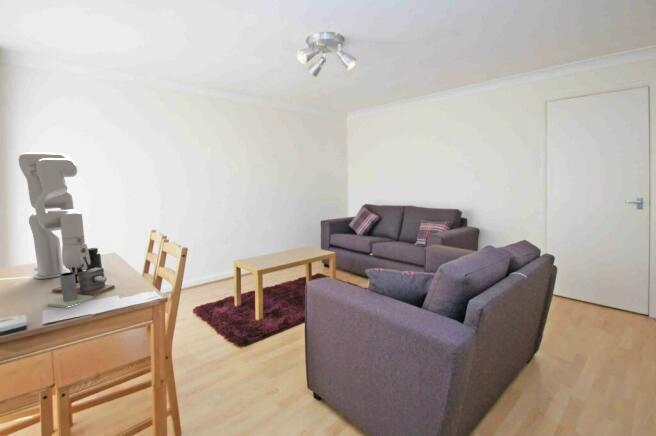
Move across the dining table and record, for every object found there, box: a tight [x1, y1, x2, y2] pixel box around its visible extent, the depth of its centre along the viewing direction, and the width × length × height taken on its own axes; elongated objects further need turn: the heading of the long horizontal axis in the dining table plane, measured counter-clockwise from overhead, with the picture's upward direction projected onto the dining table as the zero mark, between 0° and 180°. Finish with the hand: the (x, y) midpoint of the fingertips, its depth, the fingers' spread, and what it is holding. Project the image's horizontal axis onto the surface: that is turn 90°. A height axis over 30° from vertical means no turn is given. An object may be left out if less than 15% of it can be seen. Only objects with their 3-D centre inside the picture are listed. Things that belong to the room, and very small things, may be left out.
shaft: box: [77, 275, 108, 283], centre depth 140 cm, size 12×5×5 cm, turn 76°
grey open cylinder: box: [59, 271, 78, 301], centre depth 128 cm, size 4×4×10 cm
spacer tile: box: [47, 294, 94, 308], centre depth 128 cm, size 10×10×1 cm
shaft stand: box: [51, 267, 116, 297], centre depth 141 cm, size 22×10×9 cm, turn 76°
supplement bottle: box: [87, 247, 103, 270], centre depth 168 cm, size 7×7×12 cm
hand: (77, 282), depth 142 cm, fingers closed
